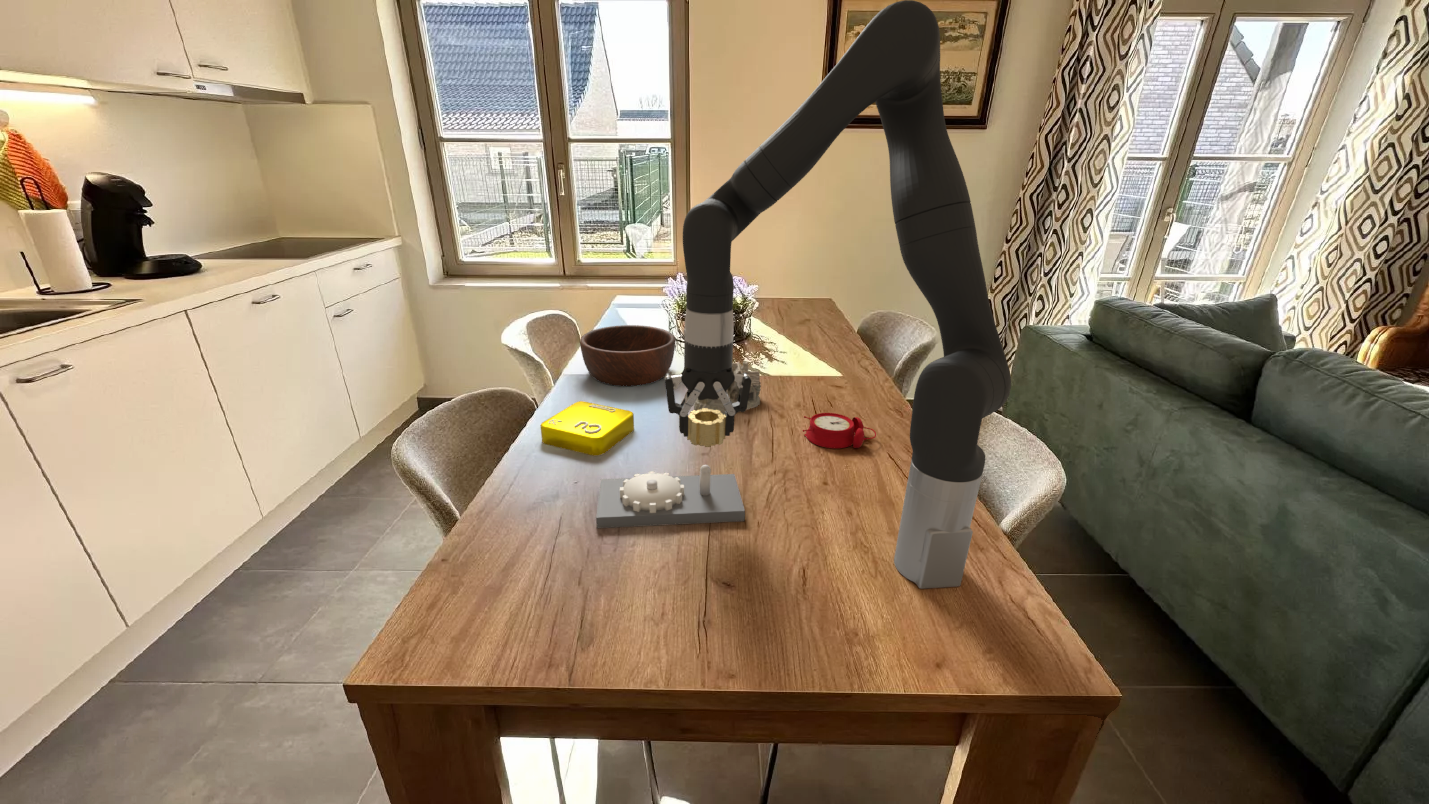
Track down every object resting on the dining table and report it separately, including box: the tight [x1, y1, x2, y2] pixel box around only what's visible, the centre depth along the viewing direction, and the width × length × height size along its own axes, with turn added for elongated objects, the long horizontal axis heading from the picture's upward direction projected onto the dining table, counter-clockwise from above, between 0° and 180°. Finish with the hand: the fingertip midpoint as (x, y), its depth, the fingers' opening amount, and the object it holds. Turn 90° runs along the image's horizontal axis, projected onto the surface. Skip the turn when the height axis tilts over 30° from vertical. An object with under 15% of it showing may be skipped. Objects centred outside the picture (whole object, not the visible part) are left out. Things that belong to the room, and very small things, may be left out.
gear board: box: [595, 464, 746, 529], centre depth 100 cm, size 12×24×7 cm, turn 97°
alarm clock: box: [802, 412, 877, 449], centre depth 126 cm, size 10×6×15 cm
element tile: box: [540, 400, 635, 457], centre depth 125 cm, size 15×15×5 cm
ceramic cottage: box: [693, 360, 762, 415], centre depth 140 cm, size 16×16×15 cm
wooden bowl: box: [579, 324, 676, 387], centre depth 158 cm, size 25×25×10 cm
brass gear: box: [686, 408, 726, 448], centre depth 97 cm, size 6×6×4 cm
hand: (706, 433), depth 98 cm, fingers closed on brass gear, 6 cm apart
